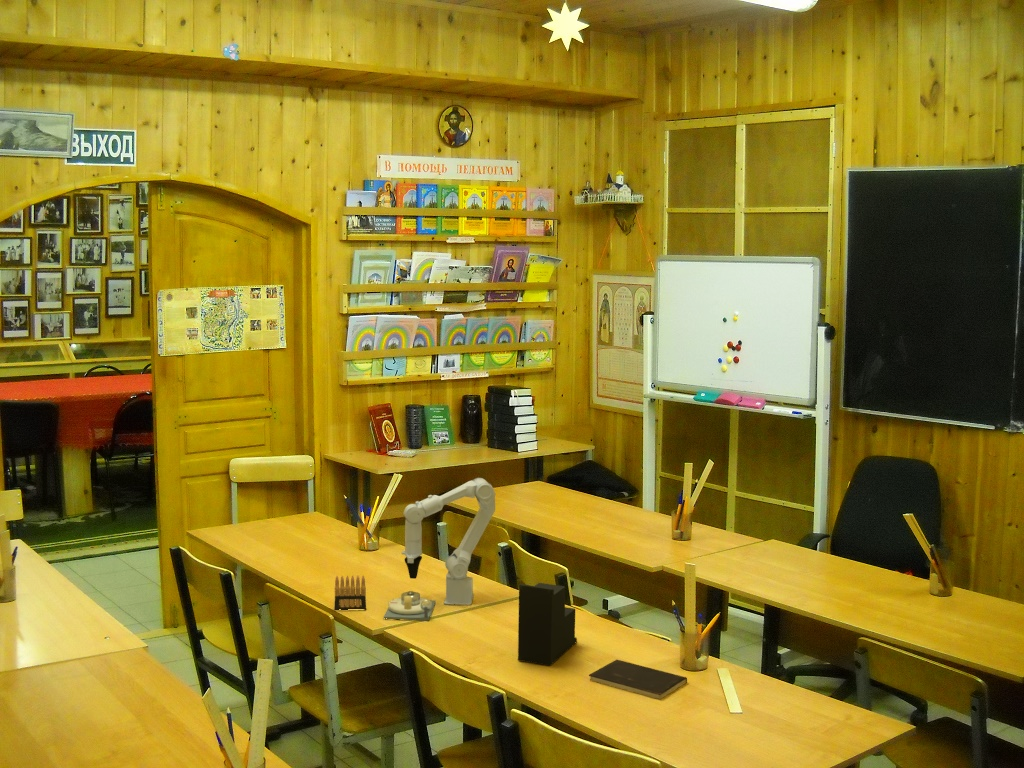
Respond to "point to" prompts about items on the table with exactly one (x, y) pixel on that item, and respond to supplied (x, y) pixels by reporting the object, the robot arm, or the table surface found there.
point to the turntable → (406, 606)
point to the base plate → (417, 617)
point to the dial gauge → (426, 607)
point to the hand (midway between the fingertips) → (413, 578)
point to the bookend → (544, 623)
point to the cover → (414, 596)
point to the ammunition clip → (350, 594)
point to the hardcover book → (638, 679)
